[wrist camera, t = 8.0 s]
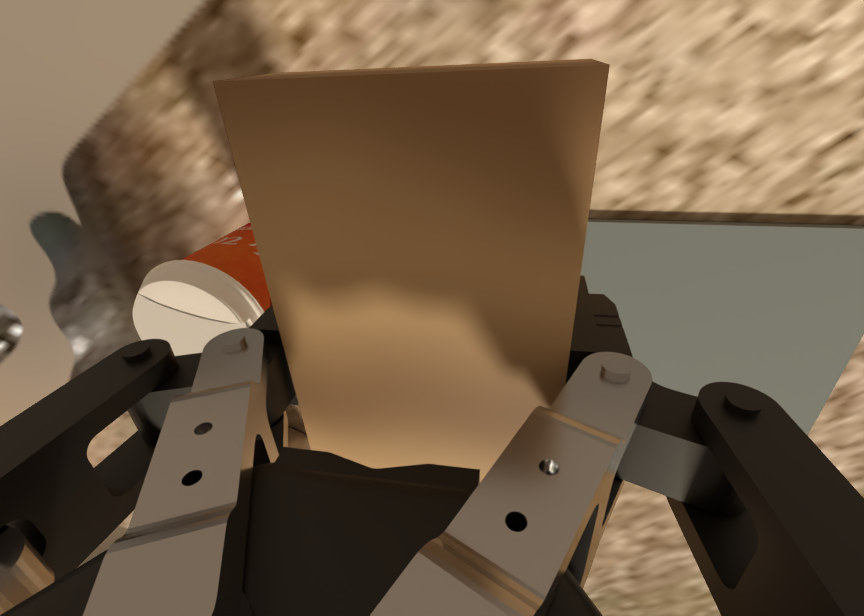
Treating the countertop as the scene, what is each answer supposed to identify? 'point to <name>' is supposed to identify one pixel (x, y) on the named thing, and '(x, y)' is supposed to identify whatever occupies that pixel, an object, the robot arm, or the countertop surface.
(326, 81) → the tan wooden block
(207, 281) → the paper cup
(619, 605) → the countertop surface
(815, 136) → the countertop surface
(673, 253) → the mat
